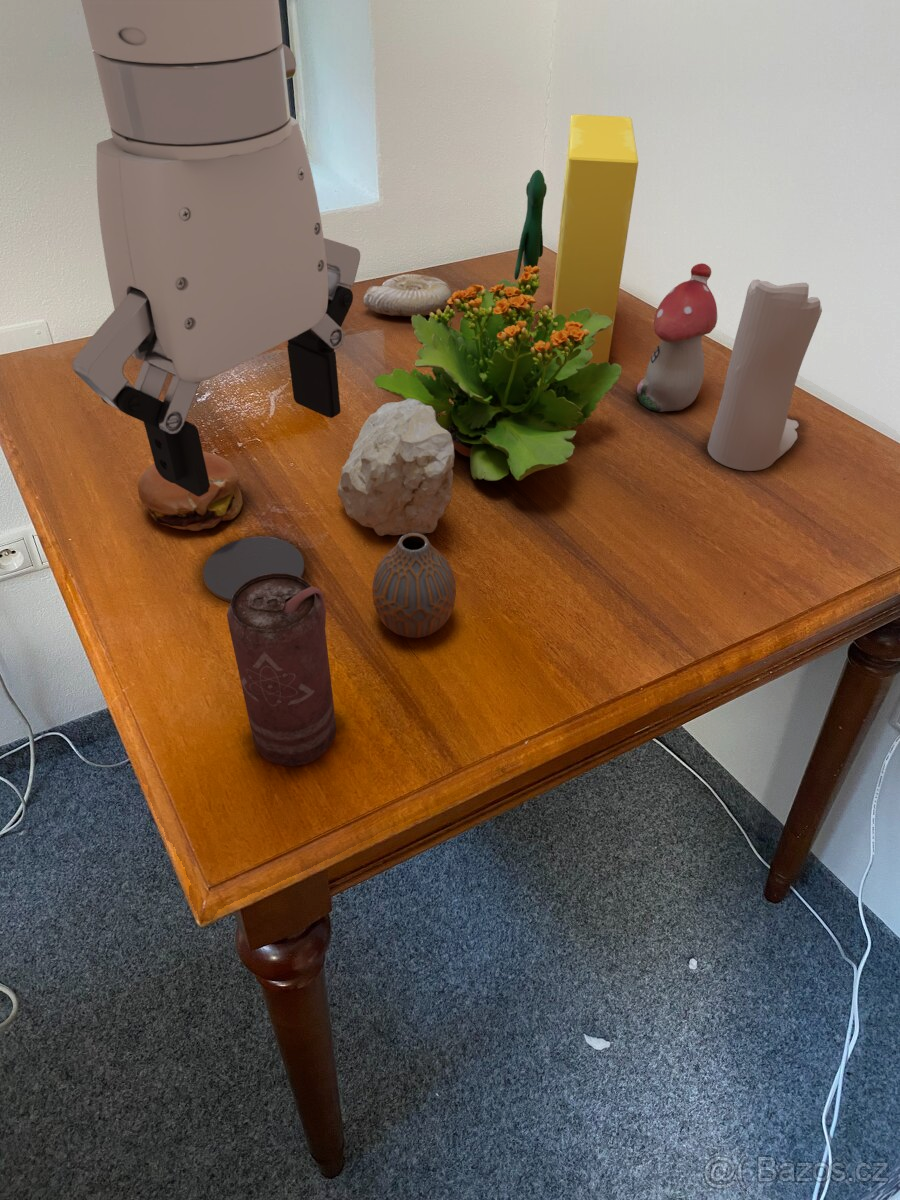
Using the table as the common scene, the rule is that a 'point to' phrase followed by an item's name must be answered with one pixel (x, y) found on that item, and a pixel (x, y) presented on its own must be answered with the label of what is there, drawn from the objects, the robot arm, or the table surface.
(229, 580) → the coaster
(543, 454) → the potted flower
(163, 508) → the burger
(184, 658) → the table surface
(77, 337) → the table surface
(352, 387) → the table surface
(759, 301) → the candle
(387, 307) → the fossil
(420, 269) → the table surface
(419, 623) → the vase
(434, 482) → the stone
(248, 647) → the can
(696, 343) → the decorative ornament
